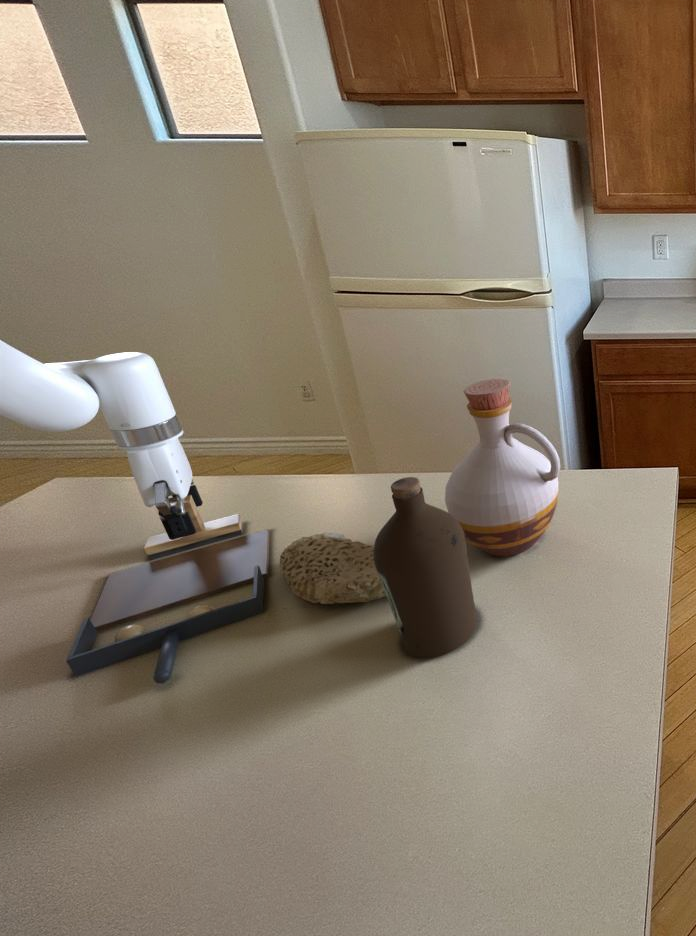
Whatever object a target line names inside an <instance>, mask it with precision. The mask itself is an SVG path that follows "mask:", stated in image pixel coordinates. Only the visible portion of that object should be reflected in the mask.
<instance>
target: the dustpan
mask: <svg viewBox="0 0 696 936" xmlns="http://www.w3.org/2000/svg"><path fill="white" fill-rule="evenodd" d="M252 583H253V584H252V596H251V597H248V598H245V599H242V600H239V601H236V602H233V603H230V604H227V605H224V606H221V607H218V608H215V609H214V610H212V611H209V612H205V613H202V614H199V615H196V616H193V617H190V618H187V619H186V618H184V619H181V620H178V621H175V622H172V623H170V624H166V625H164V626H160V627H157V628H154V629H151V630H148V631H147V632H145V633H142V634H139V635H136V636H133V637H130V638H127V639H124V640H121V641H118V642H115V641H114V642H112V643H108V644H105V645H102V646H99V647H97V648H93V649H92V647H93V645H94V642H95V641H96V637H97V636H98V635H97V634H98V631H96V629H95V627H94V626H93V624H92V622H91V618H90V617H85V618H83V619H82V621H81V624H80V627H79V629H78V631H77V633H76V636H75V639H74V641H73V643H72V646H71V648H70V651H69V653H68V655H67V657H66V660H65V662H66V663H67V665H68V667H69V668H70V670H71V671H72V673H73V675H74V676H75V677H78V676H81V675H84V674H87V673H91V672H94V671H96V670H99V669H101V668H104V667H107V666H110V665H113V664H116V663H119V662H121V661H125V660H127V659H131V658H133V657H136V656H140V655H142V654H146V653H149V652H151V651H154V650H157V649H160V650H159V653H158V657H157V661H156V666H155V669H154V674H153V682H154V683H156V684H164V683H166V682H168V681H169V680H170V679H171V677H172V673H173V670H174V664H175V660H176V654H177V650H178V646H179V642H180V641H183V640H186V639H188V638H189V639H190V638H192V637H194V636H197V635H199V634H203V633H206V632H209V631H212V630H214V629H215V630H216V629H217V628H220V627H224V626H226V625H229V624H232V623H235V622H238V621H240V620H244V619H247V618H249V617H252V616H256V615H258V614H261V613H263V612H264V610H263V609H264V592H265V591H264V590H265V589H264V588H265V578H263V575H262V573H261V570H260V568H259V565H257V566H255V568H254V581H253V582H252Z"/></svg>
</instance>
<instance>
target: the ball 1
mask: <svg viewBox="0 0 696 936" xmlns="http://www.w3.org/2000/svg"><path fill="white" fill-rule="evenodd" d="M145 632H148V631H147V629H146V628H145V626H143V625H141V624H130V625H127V626H124V627H123V628H121V629H120V630H119V631H118V632H116V634H115V636H114V643H115V642H118V641H121V640H124V639H127V638H130V637H133V636H136V635H139V634H142V633H145Z"/></svg>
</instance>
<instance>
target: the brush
mask: <svg viewBox="0 0 696 936" xmlns="http://www.w3.org/2000/svg"><path fill="white" fill-rule="evenodd" d="M170 504H171V506H175V507H176V508H178V507H177V502H174V503H170ZM183 504H184V509H185V512H188V513H189V515H190V517H191V519H192V522H193V524H194V526H195V529H196V533H195V534H193V535H189V536H185V537H181V538H178V539H174V540H170V539H169V537H168V535H167V533H166V532H163V533H160V534H156V535H152V536H147V538H146V541H145V544H144V547H143V549H144V552H145V554H146V555H147V558H148V560H149V561H153V560H158V559H161V558H165V557H167V556H168V557H169V556H172V555H176V554H179V553H183V552H184V551H185V552H186V551H190V550H194V549H197V548H201V547H204V546H208V545H210V544H215V543H219V542H222V541H226V540H229V539H233V538H237V537H240V536H244V527H245V524H244V522H243V518H242V516H241V514H240V513H235V514H233V515H231V514H230V515H228V516H224V517H221V518H220V517H219V518H216V519H213V520H208V521H205V522H204V521H203V519H202V516H201V514H200V512H199V510H198V507H196V505H195V503H194V500H193V498H192V496H191V495H189V496H186V497H185V498H184V499H183Z"/></svg>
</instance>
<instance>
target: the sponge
mask: <svg viewBox="0 0 696 936" xmlns="http://www.w3.org/2000/svg"><path fill="white" fill-rule="evenodd" d="M279 557H280V558H279V565H280V572H281V574H282V576H283V577H284V578H285V580H286V583H287V585H288V586H289V589H290V591H292V593H293V594H294V595H295V596H297V597H299V598H301V599H303V600H305V601H308V602H311V603H312V604H318V603H320V604H321V605H334V604H348V603H349V604H350V603H368V602H370V601H374V600H379V599H380V598H381V599H382V598H385V597H387V596H386V593H385V590H384V588H383V585H382V583H381V580H380V577H379V575H378V572H377V570H376V567H375V563H374V546H373V545H372V544H371V545H370V544H365V543H363V542H361V541H353V540H352V539H350V538H347V537H345V535H344V534H343V533H336V532H323V533H316V534H314V535H313V534H312V535H310V536H302V537H300V538H299V539H296V540H294V541H292V542H291V544H289V545H288V546H286V548H284V549H283V551H282V552H281V554H280V555H279Z"/></svg>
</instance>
